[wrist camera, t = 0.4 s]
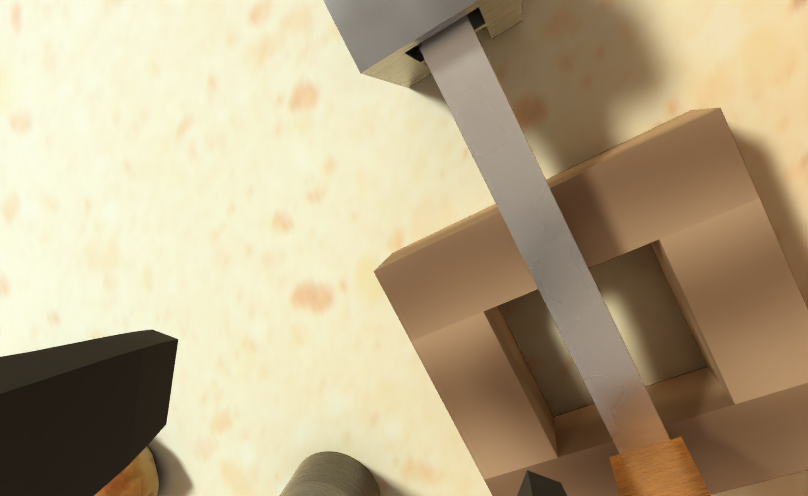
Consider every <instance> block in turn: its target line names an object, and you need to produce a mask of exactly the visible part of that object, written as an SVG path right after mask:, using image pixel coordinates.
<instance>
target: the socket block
mask: <svg viewBox="0 0 808 496" xmlns="http://www.w3.org/2000/svg"><path fill="white" fill-rule="evenodd" d="M546 181H547V183H548V185H549V187H550V189H551V191H552V193H553V195H554V198H555V200H556V202H557V204H558V206H559V208H560V210H561V212H562V214H563V216H564V218H565V220H566V223H567V225H568V227H569V229H570V231H571V233H572V235H573V237H574V239H575V241H576V243H577V245H578V248H579V250H580V252H581V254H582V256H583V258H584V260H585V262H586V264H587V266H588V268H591V267H593V266H596V265H598V264H600V263H603V262H605V261H608V260H610V259H613V258H615V257H617V256H620V255H622V254H625V253H627V252H630V251H632V250H634V249H637V248H639V247H642V246H644V245H647V244H649V243H650V244H651V246H652V249H653V251H654V253H655V255H656V257H657V259H658V262H659V264H660V266H661V268H662V270H663V272H664V274H665V277H666V279H667V281H668V283H669V285H670V287H671V290H672V292H673V294H674V296H675V298H676V300H677V303H678V305H679V307H680V309H681V311H682V313H683V316H684V318H685V320H686V322H687V324H688V326H689V329H690V331H691V333H692V335H693V337H694V339H695V341H696V344H697V346H698V348H699V350H700V352H701V354H702V357H703V359H704V361H705V363H706V365H707V367H705V368H702V369H699V370H696V371H693V372H690V373H687V374H684V375H681V376H678V377H675V378H672V379H669V380H665V381H662V382H659V383H656V384H653V385H650V386H647V387H646V389H647V391H648V393H649V395H650V398H651V400H652V402H653V404H654V406H655V408H656V410H657V412H658V414H659V416H660V418H661V421H662V423H663V425H664V427H665V429H666V431H667V433H668V435H669V437H670V439H674V438H678V437H682V439H683V441H684V443H685V445H686V447H687V449H688V451H689V453H690V455H691V457H692V459H693V461H694V463H695V465H696V467H697V469H698V471H699V473H700V475H701V477H702V479H703V481H704V483H705V485H706V487H707V489H708V491H709V493H710V495H711V494H715V493H719V492H723V491H727V490H731V489H734V488H738V487H742V486H746V485H750V484H754V483H758V482H762V481H766V480H770V479H774V478H778V477H782V476H786V475H790V474H794V473H798V472H802V471H806V470H808V309H807V306H806V304H805V302H804V299H803V297H802V295H801V293H800V290H799V288H798V286H797V283H796V281H795V279H794V276H793V274H792V272H791V269H790V267H789V265H788V262H787V260H786V258H785V256H784V253H783V251H782V249H781V246H780V244H779V242H778V239H777V237H776V235H775V232H774V230H773V228H772V226H771V223H770V221H769V219H768V216H767V214H766V212H765V209H764V207H763V205H762V202H761V200H760V198H759V196H758V193H757V191H756V189H755V186H754V184H753V182H752V179H751V177H750V175H749V172H748V170H747V168H746V165H745V163H744V161H743V159H742V156H741V154H740V152H739V149H738V147H737V145H736V142H735V140H734V138H733V135H732V133H731V131H730V129H729V126H728V124H727V122H726V119H725V117H724V115H723V112H722V110H721V108H711V109H699V110H691V111H689V112H687V113H685V114H683V115H681V116H678V117H676V118H674V119H672V120H670V121H668V122H666V123H664V124H662V125H660V126H658V127H655V128H653V129H651V130H649V131H647V132H645V133H643V134H641V135H639V136H637V137H635V138H632V139H630V140H628V141H626V142H624V143H622V144H620V145H618V146H616V147H614V148H612V149H609V150H607V151H605V152H603V153H601V154H599V155H597V156H595V157H593V158H591V159H589V160H586V161H584V162H582V163H580V164H578V165H576V166H574V167H572V168H570V169H568V170H566V171H563V172H561V173H559V174H557V175H555V176H553V177H551V178H549V179H547V180H546ZM374 273H375V275H376V277H377V278H378V280H379V282H380V284H381V286H382V288H383V290H384V292H385V294H386V295H387V297H388V299H389V301H390V303H391V305H392V307H393V309H394V310H395V312H396V314H397V316H398V318H399V320H400V322H401V324H402V326H403V327H404V329H405V331H406V333H407V335H408V337H409V339H410V341H411V343H412V344H413V346H414V348H415V350H416V352H417V354H418V356H419V358H420V360H421V361H422V363H423V365H424V367H425V369H426V371H427V373H428V375H429V377H430V378H431V380H432V382H433V384H434V386H435V388H436V390H437V392H438V393H439V395H440V397H441V399H442V401H443V403H444V405H445V407H446V409H447V410H448V412H449V414H450V416H451V418H452V420H453V422H454V424H455V426H456V427H457V429H458V431H459V433H460V435H461V437H462V439H463V441H464V443H465V444H466V446H467V448H468V450H469V452H470V454H471V456H472V458H473V460H474V461H475V463H476V465H477V467H478V469H479V471H480V473H481V475H482V476H483V478H484V480H485V482H486V484H487V486H488V488H489V490H490V492H491V493H492V495H493V496H517V495H518V492H519V489H520V487H521V484H522V482H523V479H524V477H525V474H526V471H527V470H529V471H531V472H534V473H537V474H539V475H542V476H545V477H547V478H550V479H553V480H555V481H558V482H561V484H562V486H563V488H564V490H565V492H566V494H567V496H619V493H618V489H617V485H616V481H615V477H614V473H613V469H612V465H611V461H610V457H612V456H616V455H619V452H618V450H617V447H616V445H615V443H614V441H613V439H612V437H611V435H610V433H609V431H608V429H607V427H606V425H605V423H604V421H603V419H602V417H601V415H600V413H599V411H598V409H597V407H596V405H595V404H592V405H589V406H586V407H583V408H580V409H577V410H574V411H571V412H567V413H564V414H561V415H558V416H555V417H554V416H553V414H552V412H551V410H550V408H549V406H548V404H547V402H546V400H545V399H544V397H543V395H542V393H541V391H540V389H539V387H538V385H537V383H536V381H535V379H534V377H533V375H532V373H531V371H530V369H529V367H528V365H527V363H526V361H525V359H524V357H523V355H522V353H521V351H520V349H519V347H518V345H517V343H516V341H515V339H514V337H513V335H512V333H511V331H510V329H509V327H508V325H507V323H506V321H505V319H504V317H503V315H502V313H501V311H500V309H499V307H498V305H501V304H503V303H506V302H508V301H510V300H513V299H515V298H518V297H520V296H523V295H525V294H527V293H530V292H532V291H535V290H537V289H538V288H537V286H536V283H535V281H534V279H533V277H532V275H531V273H530V271H529V269H528V267H527V265H526V263H525V261H524V259H523V257H522V255H521V253H520V251H519V249H518V247H517V245H516V243H515V241H514V239H513V237H512V235H511V233H510V231H509V229H508V227H507V225H506V223H505V221H504V219H503V217H502V215H501V213H500V211H499V209H498V207H497V205H496V204H495V205H492V206H490V207H488V208H486V209H484V210H482V211H480V212H478V213H476V214H474V215H472V216H469V217H467V218H465V219H463V220H461V221H459V222H457V223H455V224H453V225H451V226H449V227H446V228H444V229H442V230H440V231H438V232H436V233H434V234H432V235H430V236H428V237H426V238H423V239H421V240H419V241H417V242H415V243H413V244H411V245H409V246H407V247H405V248H403V249H400V250H398V251H396V252H394V253H392V254H391V255H390V256H389V257H388V258H387V259H386V260H385V261H384V262H383V263H382V264H381V265H380V266H379V267H378V268H377V269H376V270H375V271H374Z"/></svg>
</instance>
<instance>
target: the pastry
mask: <svg viewBox="0 0 808 496" xmlns="http://www.w3.org/2000/svg"><path fill="white" fill-rule="evenodd" d="M158 490H159V480H158V474H157V470H156V465H155V462H154V458H153V455H152V453H151V451H150V450H149V448H148V447H147V446H146V448H145V449H144V450H143V451H142V452H141V453H140V454H139V455H138V456H137V457H136V458H135V459H134V460H133V461H132V462H131V463H130V465H128V466H127V467H126V468H125V469H124V470H123V471H122V472H121V473H120V474H118V475H117V476H116V477H115V478H114V479H113V480H112V481H110V482H109V483H108V484H107V485H106V486H105V487H103V488H102V489H101V490H100V491H99V492H98V493H97V494H95V495H94V496H157V494H158Z"/></svg>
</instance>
